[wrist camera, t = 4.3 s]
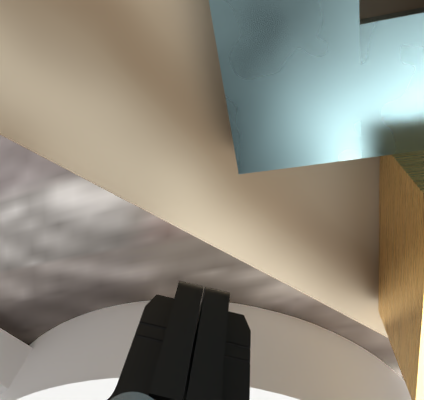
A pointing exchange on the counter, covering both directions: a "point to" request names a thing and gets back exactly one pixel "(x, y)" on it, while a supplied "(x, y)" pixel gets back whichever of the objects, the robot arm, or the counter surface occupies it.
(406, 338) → the t-shaped piece
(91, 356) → the white circle with bar
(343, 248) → the base board
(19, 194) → the counter surface
